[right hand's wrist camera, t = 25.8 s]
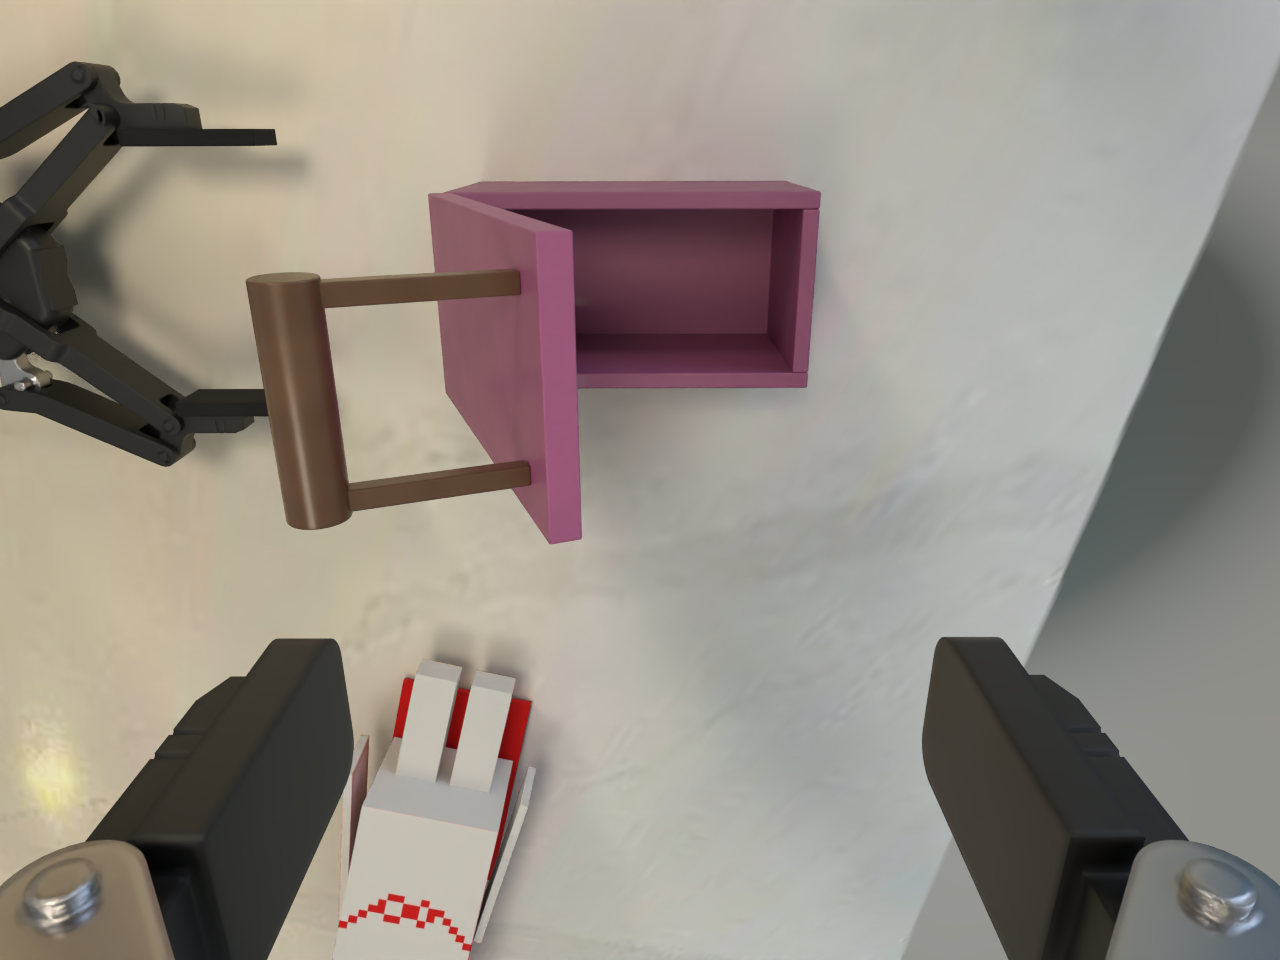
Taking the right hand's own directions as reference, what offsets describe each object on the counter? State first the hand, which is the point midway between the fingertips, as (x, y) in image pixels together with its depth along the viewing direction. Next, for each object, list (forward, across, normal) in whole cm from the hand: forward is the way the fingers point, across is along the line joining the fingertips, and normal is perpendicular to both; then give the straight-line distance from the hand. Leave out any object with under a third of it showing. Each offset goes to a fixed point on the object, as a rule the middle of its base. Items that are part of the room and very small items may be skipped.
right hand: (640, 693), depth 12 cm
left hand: (+36, -18, 0) cm, 40 cm away
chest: (+42, 0, 0) cm, 42 cm away
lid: (+23, -5, 0) cm, 24 cm away
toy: (+42, -15, -40) cm, 60 cm away
